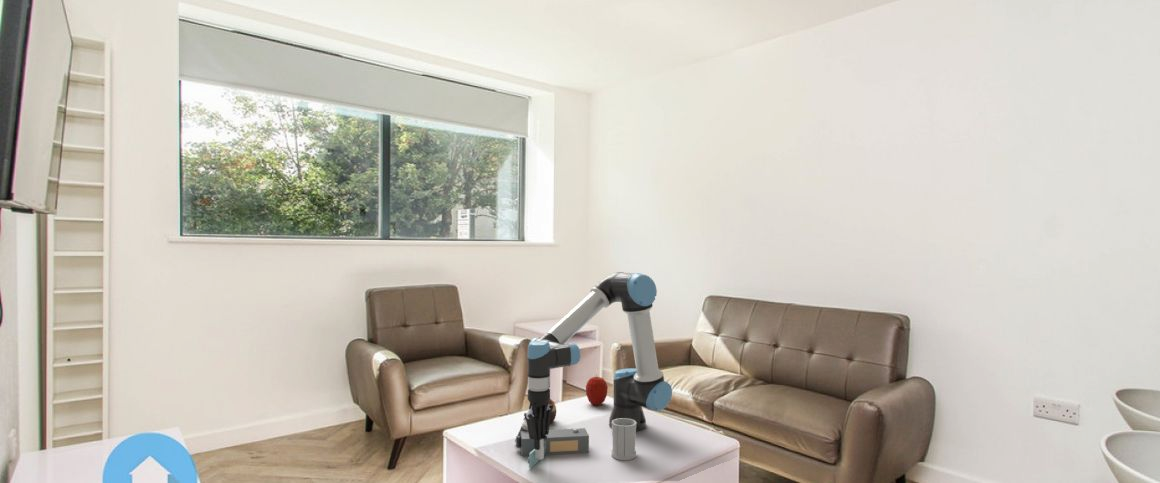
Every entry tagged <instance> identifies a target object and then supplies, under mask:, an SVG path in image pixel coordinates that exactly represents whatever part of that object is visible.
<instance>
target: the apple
mask: <svg viewBox="0 0 1160 483" xmlns="http://www.w3.org/2000/svg"><path fill="white" fill-rule="evenodd" d="M608 388H609V387H608V384H607V382H606V380H605V379H604V378H603V377H600V376H598V375H597V374H596V376H593V377H590V378H589V379H588V381H587V383H586V385H585V393H586V397H587V400H588V402H589V403H590V405H592V406H594V407H595V406H600V405H602V404H603V403H604V402H606V401H605V400H606V398H607V395H608Z"/></svg>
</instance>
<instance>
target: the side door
mask: <svg viewBox="0 0 1160 483" xmlns="http://www.w3.org/2000/svg"><path fill="white" fill-rule="evenodd" d="M544 456H547V455H546V441H544ZM539 461H541V459H537V458H535V449H534V450H533V451H531V452H530V453H529V456H527V464H528V469H531V468H532V467H534V466H535V465H536V464H537V463H538V462H539Z"/></svg>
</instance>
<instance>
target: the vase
mask: <svg viewBox="0 0 1160 483" xmlns="http://www.w3.org/2000/svg"><path fill="white" fill-rule="evenodd" d="M548 402H549V404H550V405H553V409H552V412H551V419H550V425H551V424H553V422H554V421H555V419H556V417H557V405H556V403H555V402H554V400H552V398H550V400H549V401H548Z"/></svg>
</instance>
